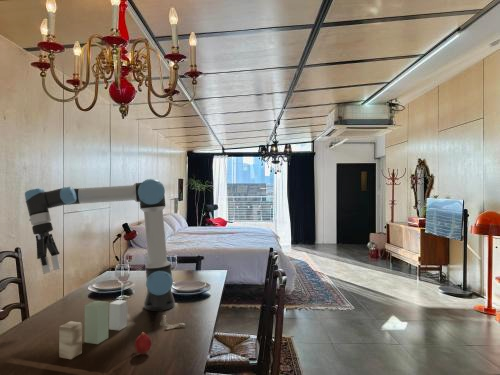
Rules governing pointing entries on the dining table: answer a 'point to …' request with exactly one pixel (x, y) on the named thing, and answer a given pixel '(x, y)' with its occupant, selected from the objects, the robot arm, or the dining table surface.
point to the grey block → (117, 315)
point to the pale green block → (96, 322)
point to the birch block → (70, 340)
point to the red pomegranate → (143, 343)
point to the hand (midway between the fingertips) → (52, 271)
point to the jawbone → (164, 323)
